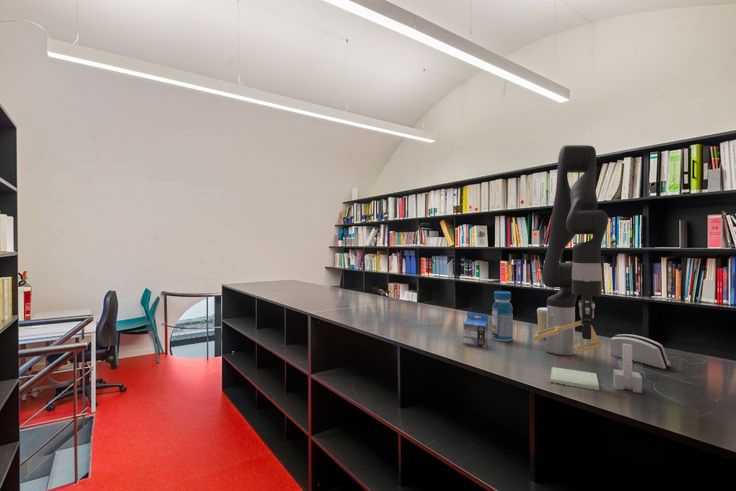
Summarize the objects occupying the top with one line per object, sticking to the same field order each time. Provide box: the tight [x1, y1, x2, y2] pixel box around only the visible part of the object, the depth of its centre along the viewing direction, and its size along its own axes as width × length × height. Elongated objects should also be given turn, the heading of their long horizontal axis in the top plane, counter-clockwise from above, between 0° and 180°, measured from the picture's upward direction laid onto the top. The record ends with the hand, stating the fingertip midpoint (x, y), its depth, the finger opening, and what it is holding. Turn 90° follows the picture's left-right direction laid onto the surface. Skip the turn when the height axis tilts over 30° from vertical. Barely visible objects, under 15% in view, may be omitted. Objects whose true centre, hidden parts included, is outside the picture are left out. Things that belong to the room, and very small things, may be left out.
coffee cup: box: [536, 307, 547, 339], centre depth 161 cm, size 9×9×12 cm
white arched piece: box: [610, 333, 671, 369], centre depth 128 cm, size 17×5×10 cm, turn 27°
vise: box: [612, 344, 643, 394], centre depth 106 cm, size 6×11×12 cm, turn 152°
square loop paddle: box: [533, 319, 603, 354], centre depth 110 cm, size 16×7×8 cm, turn 62°
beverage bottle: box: [491, 290, 514, 342], centre depth 156 cm, size 8×8×20 cm
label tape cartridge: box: [463, 311, 489, 348], centre depth 148 cm, size 9×4×12 cm, turn 53°
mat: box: [549, 366, 600, 391], centre depth 109 cm, size 12×12×1 cm
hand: (586, 337), depth 108 cm, fingers closed on square loop paddle
